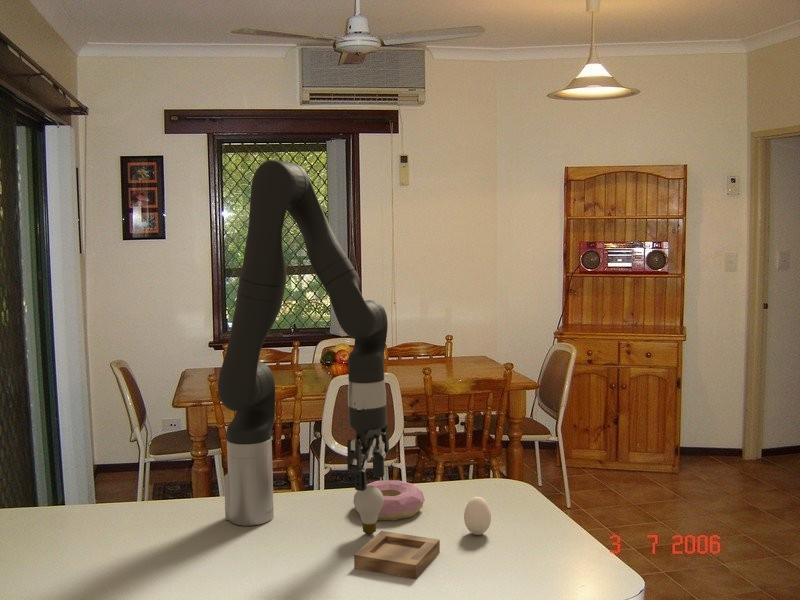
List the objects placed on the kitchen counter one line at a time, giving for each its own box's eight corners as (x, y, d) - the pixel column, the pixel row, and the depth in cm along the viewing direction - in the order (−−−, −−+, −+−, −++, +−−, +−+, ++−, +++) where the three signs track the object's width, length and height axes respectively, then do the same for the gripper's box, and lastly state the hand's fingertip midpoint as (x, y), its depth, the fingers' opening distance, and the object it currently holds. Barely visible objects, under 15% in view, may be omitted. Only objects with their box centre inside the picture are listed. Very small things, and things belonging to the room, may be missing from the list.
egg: (484, 527, 163) (484, 491, 162) (495, 537, 158) (495, 499, 157) (459, 531, 161) (459, 494, 160) (470, 541, 156) (470, 503, 155)
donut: (430, 501, 179) (430, 479, 179) (416, 526, 164) (415, 503, 164) (363, 496, 183) (363, 475, 182) (343, 521, 168) (343, 498, 167)
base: (354, 568, 145) (354, 554, 144) (381, 543, 156) (381, 530, 155) (416, 578, 140) (416, 565, 140) (439, 552, 151) (439, 539, 151)
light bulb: (380, 541, 156) (379, 491, 155) (351, 539, 158) (350, 490, 157) (387, 530, 162) (386, 482, 161) (358, 528, 163) (357, 480, 162)
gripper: (365, 394, 165) (368, 471, 167) (333, 409, 152) (336, 492, 154) (399, 396, 162) (401, 474, 164) (369, 412, 149) (372, 496, 151)
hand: (369, 483), depth 159 cm, fingers open, 8 cm apart
